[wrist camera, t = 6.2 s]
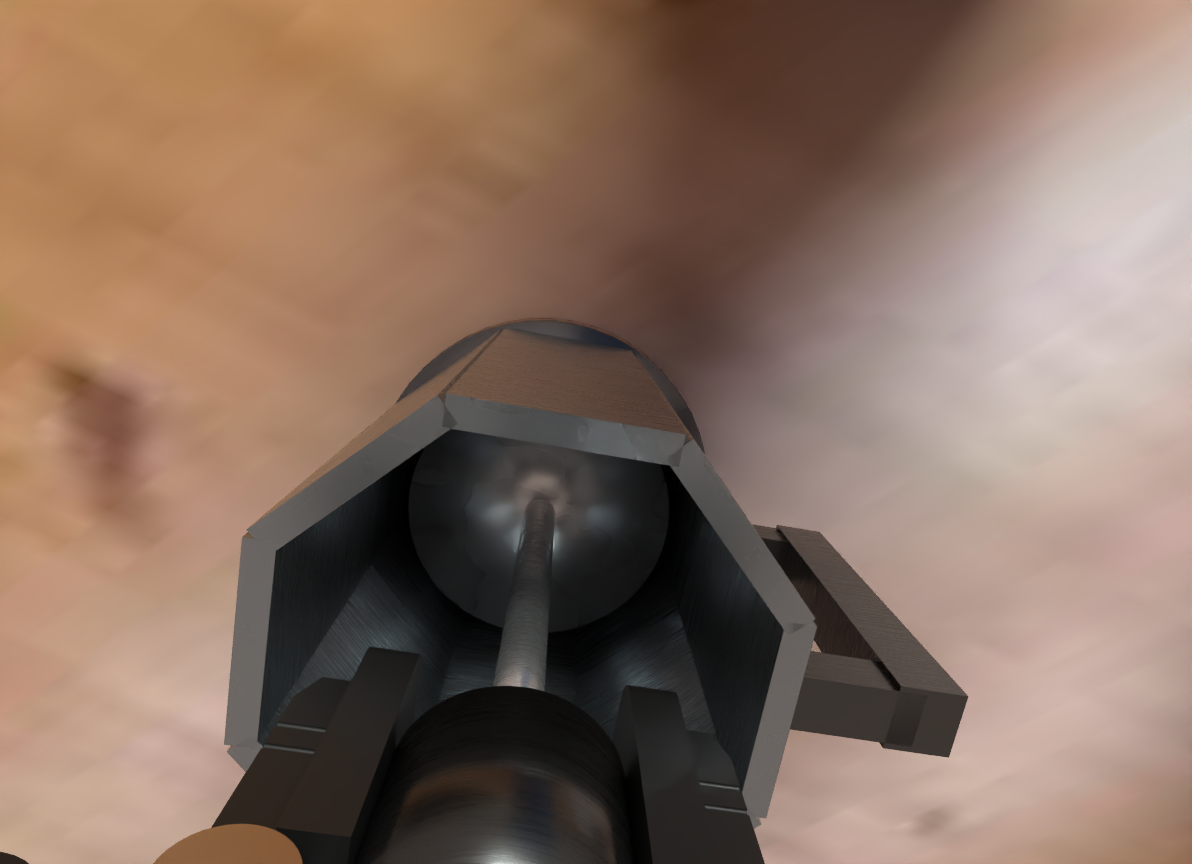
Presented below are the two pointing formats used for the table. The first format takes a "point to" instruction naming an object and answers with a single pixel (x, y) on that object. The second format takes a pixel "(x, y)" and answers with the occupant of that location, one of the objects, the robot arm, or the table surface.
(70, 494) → the table surface
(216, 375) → the table surface
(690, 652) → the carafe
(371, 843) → the plunger
